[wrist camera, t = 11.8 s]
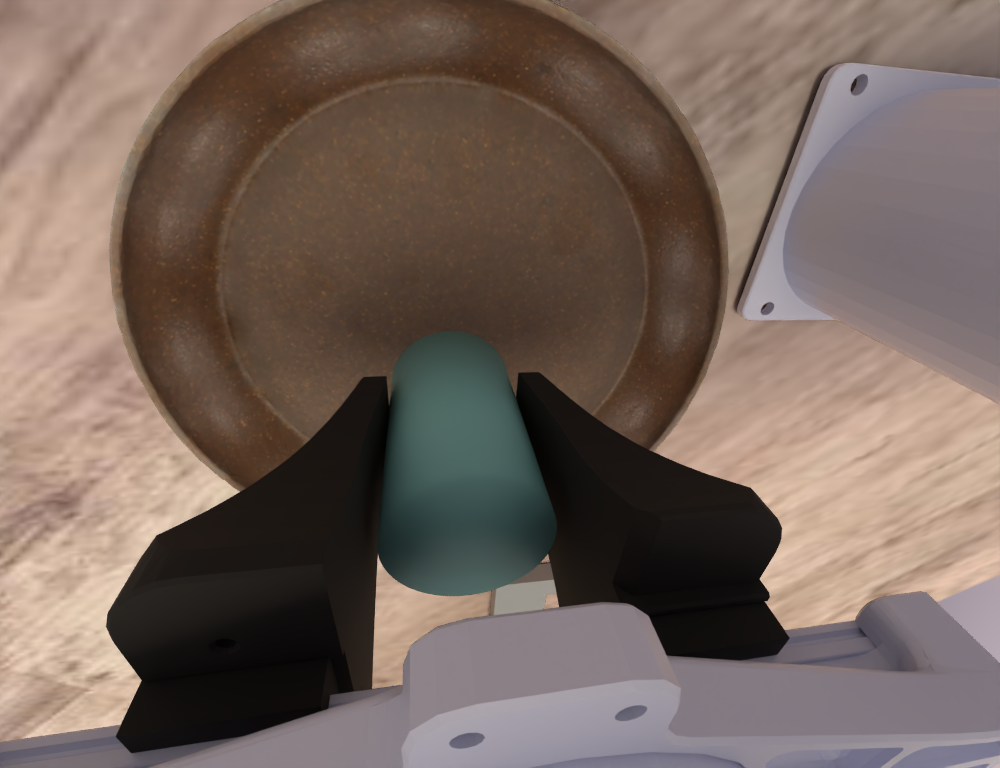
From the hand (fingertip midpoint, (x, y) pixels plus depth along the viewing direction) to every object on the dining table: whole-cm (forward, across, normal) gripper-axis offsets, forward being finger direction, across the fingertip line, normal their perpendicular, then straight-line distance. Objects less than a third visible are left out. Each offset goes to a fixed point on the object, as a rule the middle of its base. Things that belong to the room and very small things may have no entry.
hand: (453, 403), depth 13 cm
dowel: (+1, 0, 0) cm, 1 cm away
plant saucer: (+5, 0, -1) cm, 5 cm away
